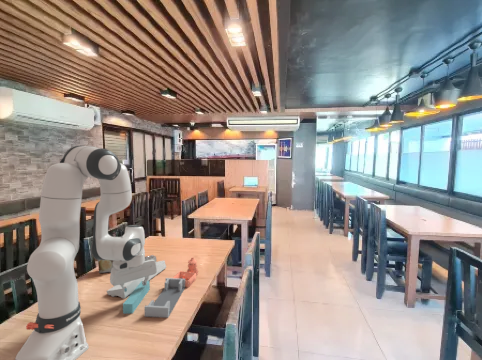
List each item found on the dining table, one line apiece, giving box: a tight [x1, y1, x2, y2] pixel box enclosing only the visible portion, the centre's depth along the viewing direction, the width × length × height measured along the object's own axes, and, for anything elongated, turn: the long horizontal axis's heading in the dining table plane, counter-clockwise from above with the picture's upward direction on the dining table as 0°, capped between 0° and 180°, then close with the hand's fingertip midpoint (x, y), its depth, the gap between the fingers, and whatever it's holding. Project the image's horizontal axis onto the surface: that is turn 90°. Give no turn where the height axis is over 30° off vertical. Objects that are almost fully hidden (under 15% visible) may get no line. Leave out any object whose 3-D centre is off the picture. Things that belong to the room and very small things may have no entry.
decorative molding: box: [106, 260, 167, 299], centre depth 134 cm, size 34×5×10 cm
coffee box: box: [97, 260, 115, 274], centre depth 146 cm, size 9×6×16 cm
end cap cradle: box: [143, 277, 186, 319], centre depth 115 cm, size 25×10×5 cm, turn 177°
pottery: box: [172, 257, 199, 288], centre depth 136 cm, size 18×10×10 cm, turn 165°
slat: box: [122, 280, 151, 315], centre depth 115 cm, size 20×4×5 cm, turn 0°
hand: (134, 288), depth 116 cm, fingers open, 8 cm apart
